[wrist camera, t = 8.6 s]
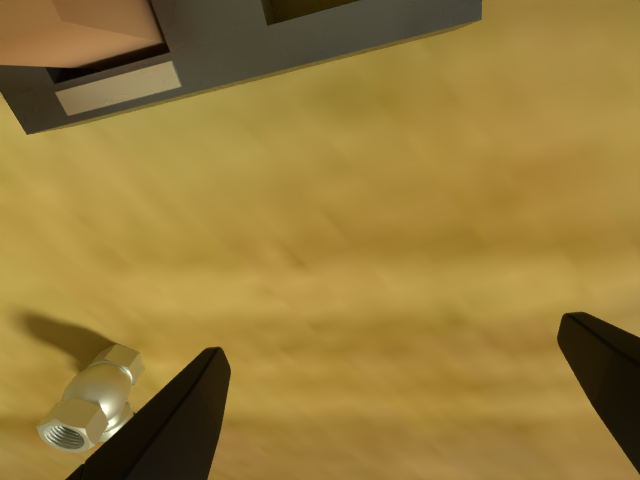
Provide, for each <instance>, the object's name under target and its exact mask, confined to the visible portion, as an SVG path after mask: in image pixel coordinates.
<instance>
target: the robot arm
mask: <svg viewBox="0 0 640 480" xmlns="http://www.w3.org/2000/svg"><path fill="white" fill-rule="evenodd" d="M557 341H558V345H559V347H560V349H561V351H562V353H563V354H564V356H565V358H566V360H567V362H568V363H569V365H570V367H571V369H572V371H573V372H574V374H575V376H576V378H577V379H578V381H579V383H580V385H581V387H582V388H583V390H584V392H585V394H586V396H587V397H588V399H589V401H590V402H591V404H592V406H593V407H594V409H595V410H596V412H597V413H598V415H599V416H600V418H601V419H602V421H603V422H604V424H605V425H606V427H607V428H608V429H609V431H610V432H611V434H612V435H613V437H614V438H615V440H616V441H617V442H618V444H619V445H620V447H621V448H622V450H623V451H624V453H625V454H626V456H627V457H628V458H629V460H630V461H631V463H632V464H633V466H634V467H635V469H636V470H637V471H638V473H639V474H640V337H637V336H635V335H633V334H631V333H629V332H627V331H624V330H622V329H620V328H618V327H616V326H614V325H611V324H609V323H607V322H605V321H603V320H601V319H598V318H596V317H594V316H592V315H590V314H587V313H585V312H572V313H566V314H564V315H563V316H562V319H561V323H560V327H559V332H558V336H557ZM230 375H231V369H230V365H229V363H228V360H227V358H226V356H225V354H224V351H223V349H222V348H221V347H210V348H206V349H205V350H203V351H202V352H201V353H200V354H199V355H198V356H197V357H196V358H195V359H194V360H193V361H192V362H190V363H189V364H188V365H187V366H186V367H185V368H184V369H183V370H182V371H181V372H180V373H179V374H178V375H177V376H176V377H174V378H173V379H172V380H171V381H170V382H169V383H168V384H167V385H166V386H165V387H164V388H163V389H162V390H161V391H159V392H158V393H157V394H156V395H155V396H154V397H153V398H152V399H151V400H150V401H149V402H148V403H147V404H146V405H145V406H143V407H142V408H141V409H140V410H139V411H138V412H137V413H136V414H135V415H134V416H133V417H132V418H131V419H130V420H129V421H127V422H126V423H125V424H124V425H123V426H122V427H121V428H120V429H119V430H118V431H117V432H116V433H115V434H114V435H112V436H111V437H110V438H109V439H108V440H107V441H106V442H105V443H104V444H103V445H102V446H101V447H100V448H99V449H98V450H96V451H95V452H94V453H93V454H92V455H91V456H90V457H89V458H88V459H87V460H86V461H85V464H81V465H80V466H79V467H78V468H77V469H76V470H75V471H74V472H73V473H72V474H71V475H70V476H69V477H67V478H66V479H65V480H207V479H208V475H209V472H210V468H211V464H212V461H213V457H214V453H215V450H216V446H217V443H218V439H219V435H220V431H221V426H222V421H223V416H224V410H225V404H226V398H227V392H228V387H229V381H230Z"/></svg>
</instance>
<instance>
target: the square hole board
mask: <svg viewBox="0 0 640 480" xmlns="http://www.w3.org/2000/svg"><path fill="white" fill-rule="evenodd" d="M151 2H152V5H153V7H154V10H155V13H156V15H157V18H158V21H159V24H160V26H161V29H162V32H163V34H164V37H165V40H166V42H167V45H168V48H169V50H170V53H167V54H163V55H160V56H156V57H152V58H149V59H145V60H141V61H138V62H134V63H130V64H127V65H123V66H119V67H116V68H112V69H109V70H105V71H101V72H98V73H94V72H93V70H92V69H87V68H63V67H40V66H16V65H0V92H1V93H2V95H3V97H4V98H5V100H6V102H7V103H8V105H9V106H10V108H11V110H12V111H13V113H14V115H15V116H16V118H17V119H18V121H19V123H20V124H21V126H22V128H23V129H24V131H25V132H26V134H27V135H29V134H34V133H40V132H45V131H51V130H56V129H62V128H67V127H73V126H77V125H81V124H85V123H89V122H93V121H97V120H100V119H104V118H108V117H112V116H116V115H120V114H124V113H128V112H132V111H136V110H140V109H144V108H148V107H152V106H156V105H160V104H164V103H168V102H172V101H176V100H180V99H184V98H188V97H192V96H196V95H200V94H204V93H208V92H212V91H216V90H220V89H224V88H227V87H231V86H235V85H239V84H243V83H247V82H251V81H255V80H259V79H263V78H267V77H271V76H275V75H279V74H283V73H287V72H291V71H295V70H299V69H303V68H307V67H311V66H315V65H319V64H323V63H327V62H331V61H335V60H339V59H343V58H347V57H351V56H355V55H358V54H362V53H366V52H370V51H374V50H378V49H382V48H386V47H390V46H394V45H398V44H402V43H406V42H410V41H414V40H418V39H422V38H426V37H430V36H434V35H438V34H442V33H446V32H450V31H454V30H457V29H459V28H462V27H464V26H467V25H469V24H472V23H474V22H477V21H479V20H481V17H482V0H360V1H356V2H352V3H349V4H345V5H341V6H338V7H334V8H330V9H327V10H323V11H320V12H316V13H312V14H309V15H305V16H301V17H298V18H294V19H290V20H287V21H283V22H280V23H276V21H275V17H274V13H273V9H272V4H271V0H151Z"/></svg>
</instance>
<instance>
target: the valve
mask: <svg viewBox="0 0 640 480" xmlns="http://www.w3.org/2000/svg"><path fill="white" fill-rule="evenodd" d="M144 370H145V366H144V363H143V361H142V358H141V355H140V354H139V353H138V352H137V351H135V350H132V349H130V348H127V347H124V346H122V345H119V344H115V345H113V346H111V347H109V348H107V349H105V350H103V351H101V352H100V353H99V354H98V355H97V356H96V358H95V359H94V360H93V361H92V362H91V363H90V365H89V366H88V368H86V369H84V370H83V371H81V372H80V373H79V374H77V375H76V376H75V377H74V378H73V379H72V381H71V382H70V383H69V384H68V386H67V387H66V389H65V391H64V393H63V396H62V399H61V403H58V404H56V405H54V407H53V408H52V409H51V410H50V411H49V412H48V414H47V415H46V416H45V417H44V418H43V419H42V421H41V422H40V423H39V424H38V425H37V430H38V433H39V435H40V437H41V438H42V440H43V441H45V442H46V443H47V444H49V445H50V446H52V447H54V448H56V449H59V450H62V451H66V452H73V453H79V452H83V451H86V450H88V449H90V448H92V447H93V446H95V445H96V443H97V442H105V441H107V440H108V439H109V438H110V437H111V436H112V435H114V434H115V433H116V432H117V431H118V430H119V429H120V428H121V427H122V426H123V425H124V424H125V423H126V422H127V421H129V420H130V419H131V418H132V417H133V411H132V408H131V406H130V404H129V402H128V401H127V400H128V398H129V395H130V391H131V386H132V385H134V384H135V383H136V382H137V380H138V379H139V377H140V376H141V374H142V373H143V371H144Z"/></svg>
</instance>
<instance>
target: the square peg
mask: <svg viewBox="0 0 640 480" xmlns="http://www.w3.org/2000/svg"><path fill="white" fill-rule="evenodd" d="M169 51H170V50H169V48H168V45H167V42H166V40H165V37H164V34H163V32H162V29H161V26H160V24H159V21H158V18H157V15H156V13H155V10H154V7H153V5H152V2H151V0H0V65H16V66H40V67H63V68H87V69H109V68H112V67H116V66H120V65H123V64H127V63H130V62H134V61H137V60H141V59H144V58H148V57H152V56H155V55H159V54H162V53H166V52H169Z"/></svg>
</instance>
